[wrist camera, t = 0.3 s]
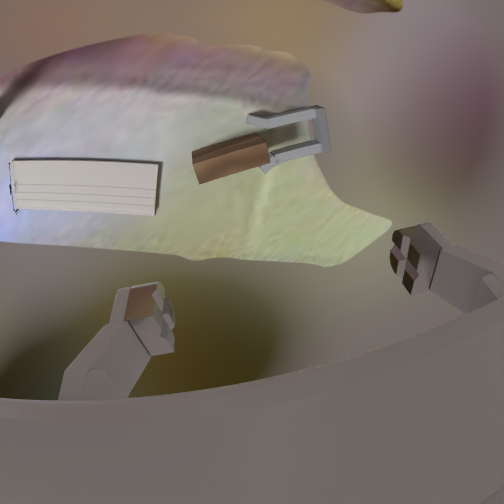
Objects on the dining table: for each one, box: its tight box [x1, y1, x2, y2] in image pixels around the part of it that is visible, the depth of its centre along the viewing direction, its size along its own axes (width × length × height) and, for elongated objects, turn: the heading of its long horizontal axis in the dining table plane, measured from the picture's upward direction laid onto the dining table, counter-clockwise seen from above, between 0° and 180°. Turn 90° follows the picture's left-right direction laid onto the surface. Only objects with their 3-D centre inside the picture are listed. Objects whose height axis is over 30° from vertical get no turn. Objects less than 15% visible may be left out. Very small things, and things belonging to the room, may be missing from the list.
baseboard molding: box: [9, 160, 159, 216], centre depth 51 cm, size 31×3×12 cm
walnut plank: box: [192, 133, 271, 184], centre depth 51 cm, size 4×12×8 cm, turn 104°
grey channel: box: [246, 105, 331, 174], centre depth 53 cm, size 11×14×4 cm
